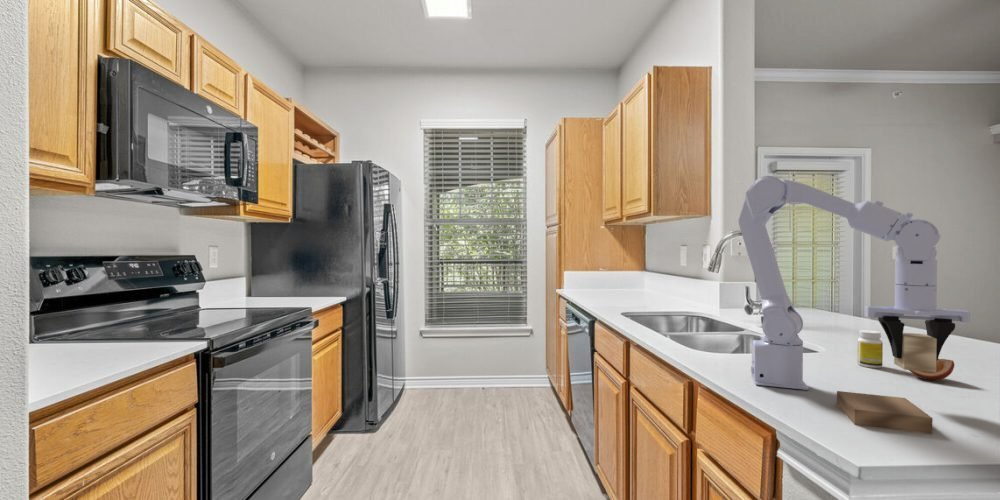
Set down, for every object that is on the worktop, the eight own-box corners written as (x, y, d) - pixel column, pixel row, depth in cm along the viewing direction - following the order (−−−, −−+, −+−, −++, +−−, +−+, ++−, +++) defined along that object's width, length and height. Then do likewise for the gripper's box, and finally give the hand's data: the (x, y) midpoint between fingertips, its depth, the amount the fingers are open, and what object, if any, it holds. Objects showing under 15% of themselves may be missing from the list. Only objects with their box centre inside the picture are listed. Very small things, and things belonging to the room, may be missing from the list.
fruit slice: (897, 376, 102) (898, 354, 102) (908, 372, 106) (908, 350, 106) (949, 386, 95) (949, 362, 95) (958, 381, 99) (958, 358, 99)
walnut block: (854, 427, 76) (854, 409, 76) (836, 406, 85) (836, 390, 85) (932, 437, 72) (932, 418, 72) (904, 414, 81) (905, 397, 81)
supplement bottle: (887, 369, 108) (887, 333, 108) (864, 368, 109) (864, 333, 109) (874, 363, 113) (875, 329, 113) (853, 362, 114) (853, 329, 114)
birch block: (904, 369, 83) (904, 336, 83) (894, 363, 87) (894, 332, 87) (936, 372, 81) (936, 338, 81) (924, 365, 85) (924, 334, 85)
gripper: (874, 285, 83) (873, 359, 83) (980, 288, 78) (979, 367, 78) (861, 282, 90) (860, 351, 90) (958, 284, 84) (957, 358, 84)
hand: (914, 358), depth 84 cm, fingers closed on birch block, 4 cm apart
